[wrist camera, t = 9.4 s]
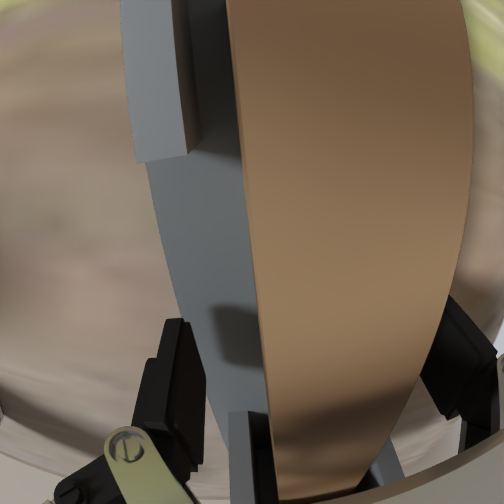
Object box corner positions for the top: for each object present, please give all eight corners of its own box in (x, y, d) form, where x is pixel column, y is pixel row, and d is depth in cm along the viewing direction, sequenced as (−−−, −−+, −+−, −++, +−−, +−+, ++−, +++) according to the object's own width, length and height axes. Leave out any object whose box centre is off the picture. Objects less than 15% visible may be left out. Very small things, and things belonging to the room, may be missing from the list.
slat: (224, 1, 6) (219, -100, 2) (344, 2, 6) (439, -64, 2) (269, 429, 15) (279, 507, 10) (330, 419, 15) (350, 494, 10)
